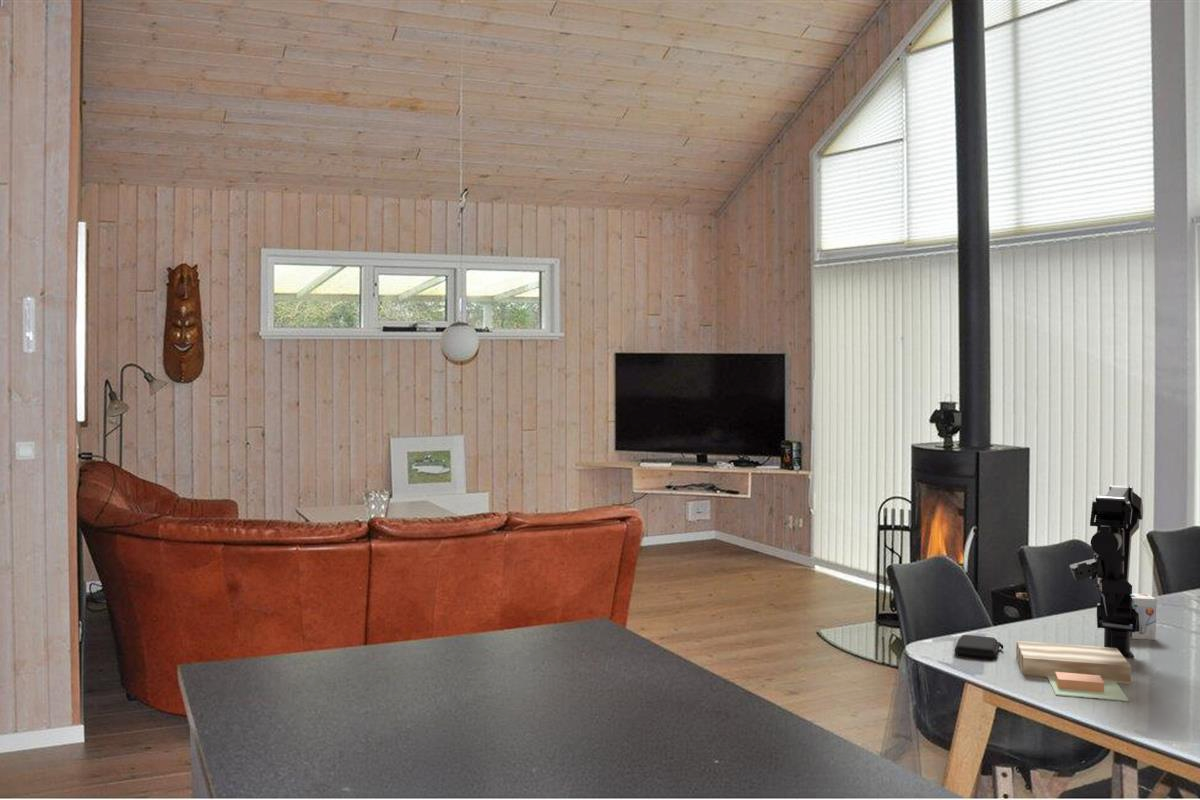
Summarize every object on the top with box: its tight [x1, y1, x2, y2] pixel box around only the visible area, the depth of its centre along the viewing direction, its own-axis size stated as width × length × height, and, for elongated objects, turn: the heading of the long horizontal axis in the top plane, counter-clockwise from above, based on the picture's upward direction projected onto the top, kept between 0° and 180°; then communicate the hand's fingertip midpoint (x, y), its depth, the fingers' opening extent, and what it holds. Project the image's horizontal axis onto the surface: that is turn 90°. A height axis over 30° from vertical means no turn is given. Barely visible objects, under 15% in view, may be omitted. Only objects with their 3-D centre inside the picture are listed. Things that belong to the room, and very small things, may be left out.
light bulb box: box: [1130, 593, 1158, 640], centre depth 269 cm, size 11×7×11 cm, turn 80°
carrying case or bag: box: [954, 634, 1004, 661], centre depth 252 cm, size 11×3×15 cm
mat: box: [1046, 676, 1130, 703], centre depth 222 cm, size 14×14×1 cm
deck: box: [1015, 640, 1132, 685], centre depth 236 cm, size 16×22×4 cm
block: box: [1055, 672, 1104, 692], centre depth 223 cm, size 6×9×2 cm, turn 72°
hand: (1109, 616), depth 238 cm, fingers closed
